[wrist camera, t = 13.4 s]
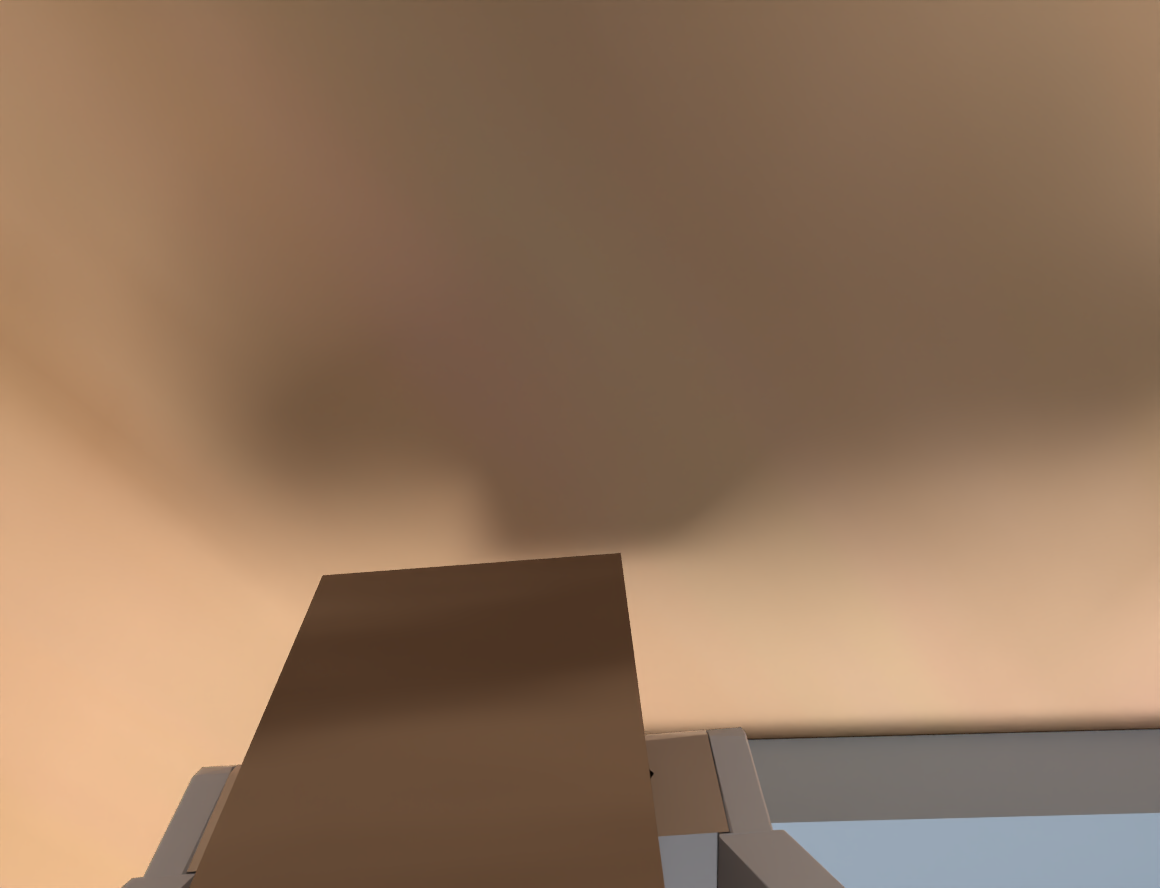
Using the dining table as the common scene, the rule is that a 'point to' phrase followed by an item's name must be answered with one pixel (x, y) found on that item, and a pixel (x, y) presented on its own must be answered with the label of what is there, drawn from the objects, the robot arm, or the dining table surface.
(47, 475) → the dining table surface
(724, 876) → the robot arm
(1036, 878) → the puzzle board
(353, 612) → the walnut block
